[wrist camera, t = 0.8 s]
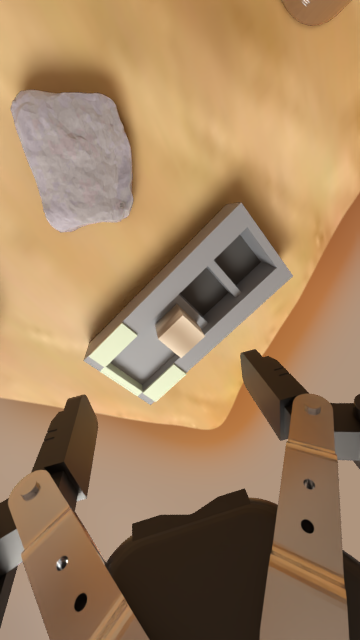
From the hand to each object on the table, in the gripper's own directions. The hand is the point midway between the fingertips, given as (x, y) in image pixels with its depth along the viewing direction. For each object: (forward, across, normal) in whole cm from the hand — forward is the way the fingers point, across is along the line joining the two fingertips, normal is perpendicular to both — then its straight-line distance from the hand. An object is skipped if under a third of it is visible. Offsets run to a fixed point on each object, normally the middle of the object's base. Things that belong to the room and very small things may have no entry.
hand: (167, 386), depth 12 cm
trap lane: (+22, -4, +5) cm, 23 cm away
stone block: (+23, +3, -13) cm, 26 cm away
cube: (+19, -2, +6) cm, 20 cm away
